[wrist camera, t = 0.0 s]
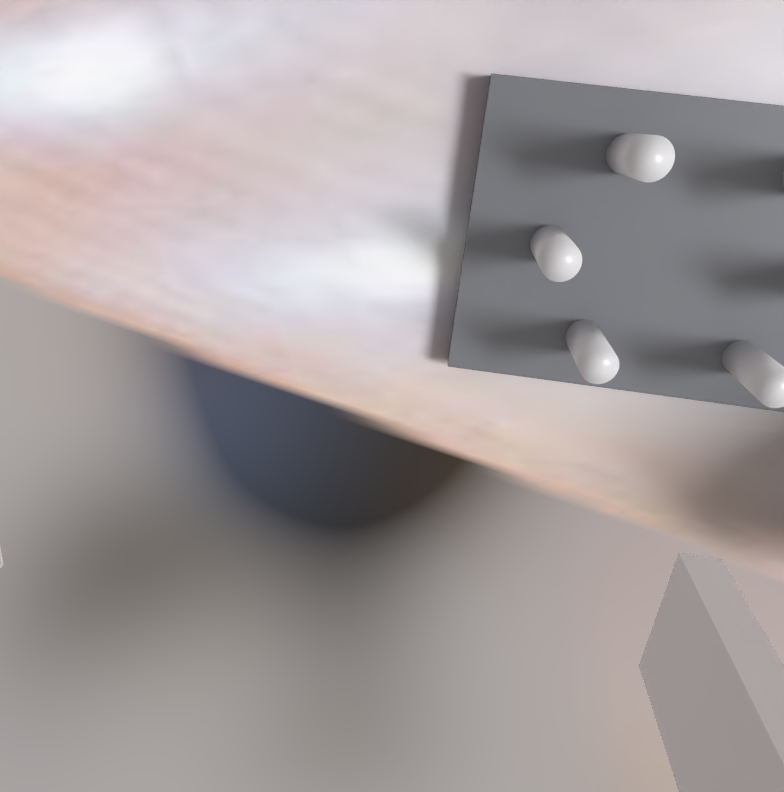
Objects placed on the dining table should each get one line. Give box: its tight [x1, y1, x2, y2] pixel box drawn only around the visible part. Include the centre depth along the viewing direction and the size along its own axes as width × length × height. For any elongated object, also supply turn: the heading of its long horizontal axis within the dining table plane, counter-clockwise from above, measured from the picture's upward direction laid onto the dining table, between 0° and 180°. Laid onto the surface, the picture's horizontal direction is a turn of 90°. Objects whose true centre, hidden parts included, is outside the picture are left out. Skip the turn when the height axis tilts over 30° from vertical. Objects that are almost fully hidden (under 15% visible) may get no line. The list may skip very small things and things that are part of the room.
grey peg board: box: [448, 74, 784, 412], centre depth 33 cm, size 16×24×6 cm, turn 84°
